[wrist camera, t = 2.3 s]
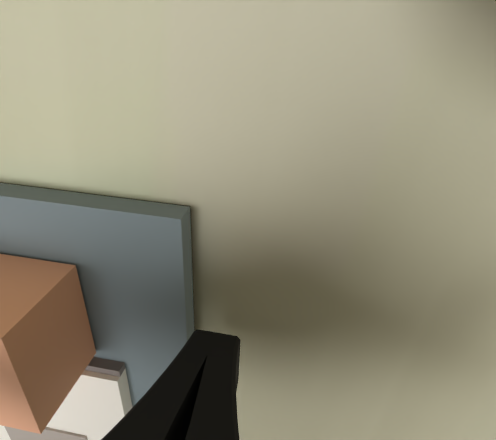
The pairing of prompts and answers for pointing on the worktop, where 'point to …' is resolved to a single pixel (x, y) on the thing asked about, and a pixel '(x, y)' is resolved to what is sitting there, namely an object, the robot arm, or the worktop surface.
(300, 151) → the worktop surface
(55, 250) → the mat
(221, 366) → the robot arm
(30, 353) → the stub
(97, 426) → the ticket
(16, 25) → the worktop surface
